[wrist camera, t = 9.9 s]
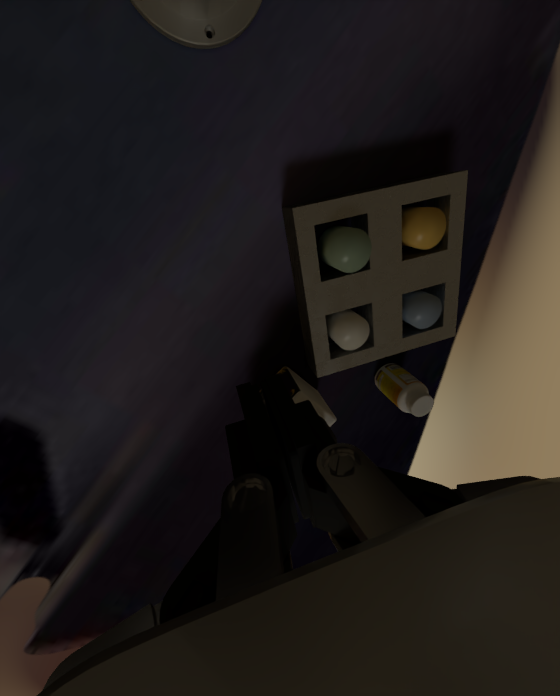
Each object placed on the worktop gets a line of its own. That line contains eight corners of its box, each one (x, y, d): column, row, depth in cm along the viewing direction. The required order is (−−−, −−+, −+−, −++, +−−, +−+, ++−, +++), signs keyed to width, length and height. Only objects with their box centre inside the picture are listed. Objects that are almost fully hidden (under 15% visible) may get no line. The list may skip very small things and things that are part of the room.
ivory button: (321, 311, 41) (334, 321, 37) (353, 302, 42) (368, 311, 38) (325, 341, 43) (337, 354, 39) (355, 332, 44) (370, 344, 40)
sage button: (315, 230, 35) (329, 233, 32) (352, 221, 36) (370, 223, 32) (320, 269, 37) (334, 277, 34) (355, 261, 38) (372, 267, 34)
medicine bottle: (284, 363, 43) (316, 416, 33) (318, 390, 47) (356, 446, 36) (249, 400, 44) (268, 463, 34) (284, 424, 48) (312, 488, 37)
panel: (281, 207, 35) (292, 208, 32) (442, 172, 38) (467, 170, 35) (307, 363, 44) (317, 377, 41) (435, 325, 47) (455, 335, 44)
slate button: (392, 291, 42) (410, 300, 39) (421, 283, 43) (442, 291, 40) (392, 322, 44) (410, 332, 41) (421, 314, 45) (440, 323, 42)
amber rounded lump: (390, 210, 38) (411, 211, 34) (423, 203, 39) (447, 203, 35) (391, 248, 40) (411, 253, 36) (422, 240, 41) (445, 244, 37)
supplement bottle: (380, 393, 50) (413, 427, 43) (368, 373, 48) (402, 405, 40) (404, 376, 50) (442, 407, 42) (394, 356, 48) (432, 384, 40)
